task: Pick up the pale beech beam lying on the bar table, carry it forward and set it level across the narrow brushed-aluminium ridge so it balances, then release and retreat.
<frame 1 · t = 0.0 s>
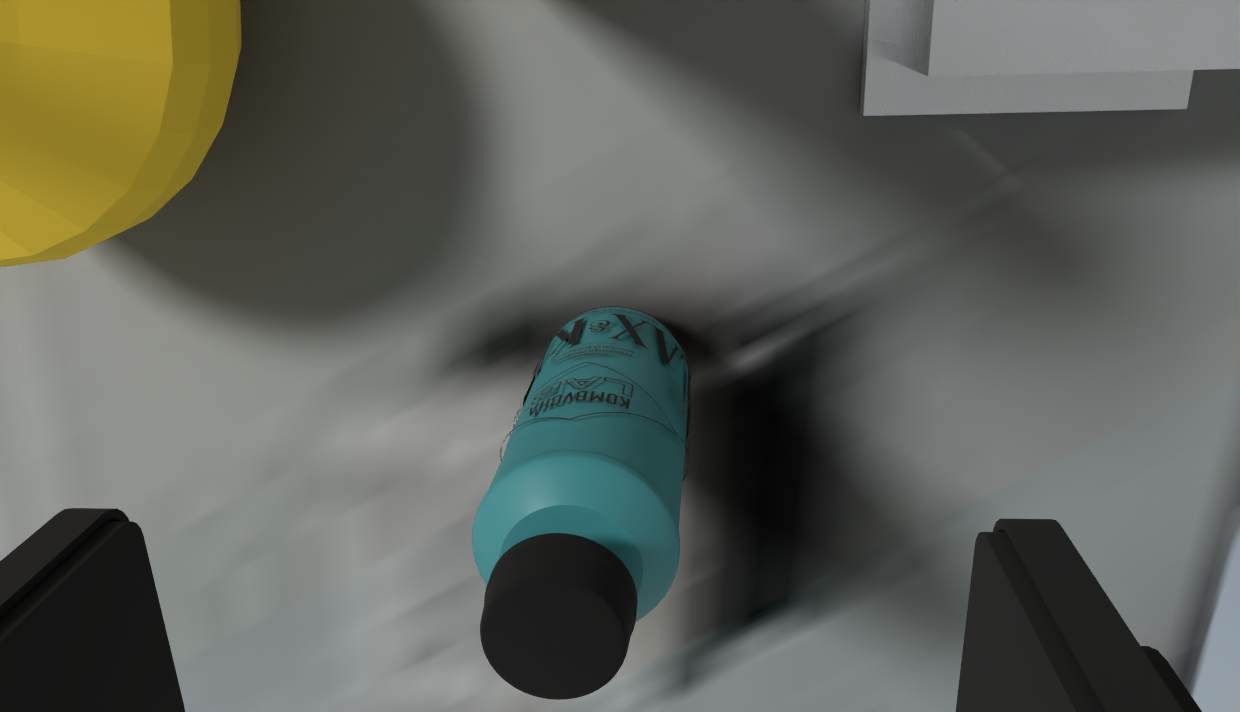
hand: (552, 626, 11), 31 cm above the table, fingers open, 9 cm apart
fulcrum: (1025, 14, 37), on the table
beverage bottle: (617, 357, 43), on the table
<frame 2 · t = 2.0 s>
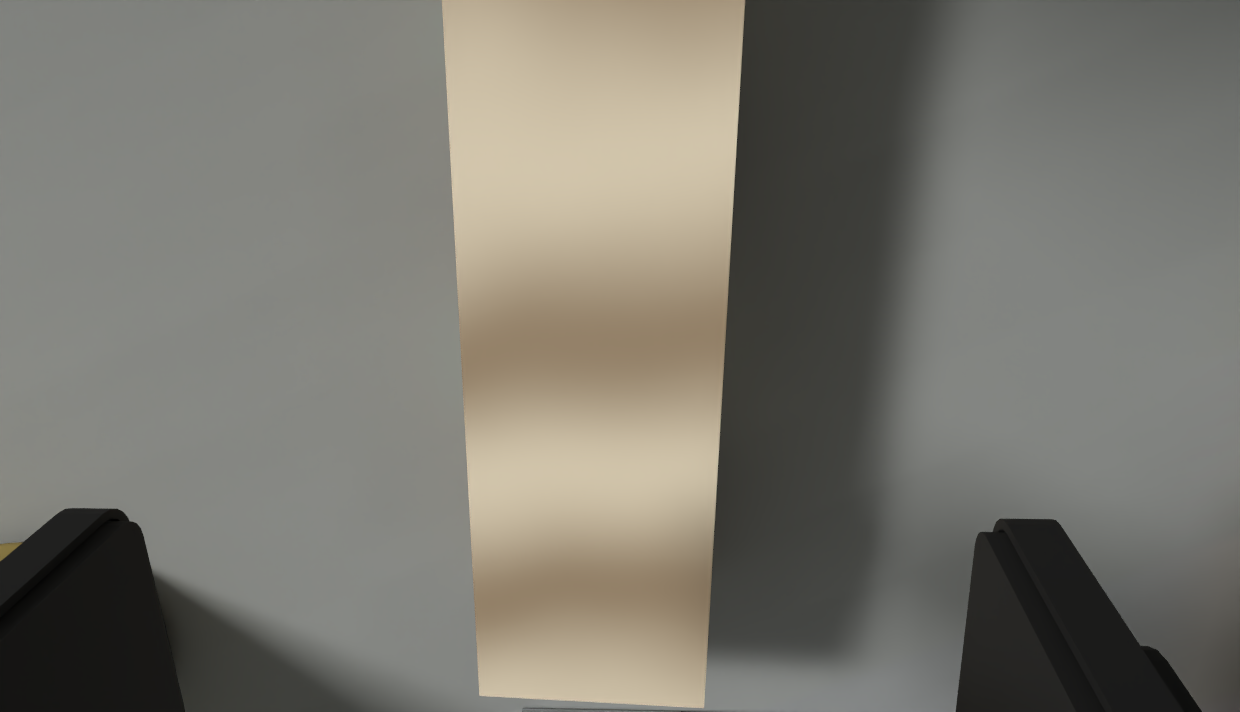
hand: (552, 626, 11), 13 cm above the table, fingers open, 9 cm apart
beam: (610, 247, 23), on the table
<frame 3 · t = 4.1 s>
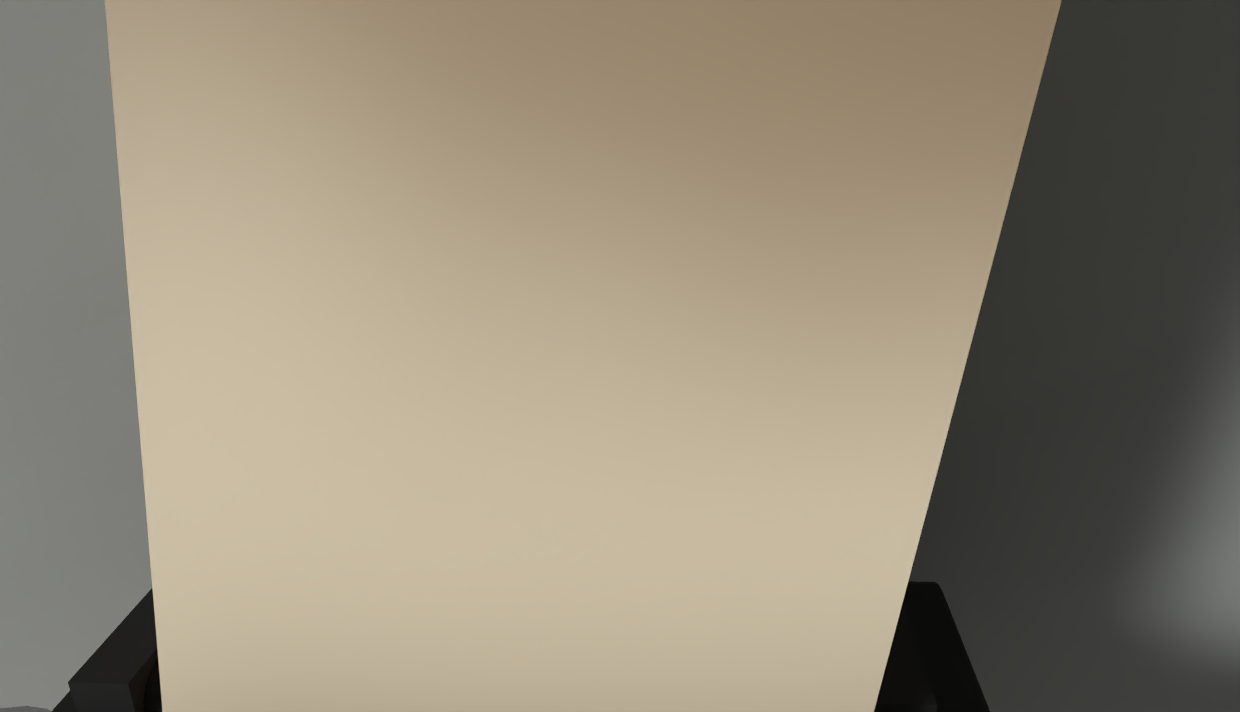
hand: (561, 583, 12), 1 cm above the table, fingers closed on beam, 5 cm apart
beam: (569, 545, 12), on the table, touching gripper
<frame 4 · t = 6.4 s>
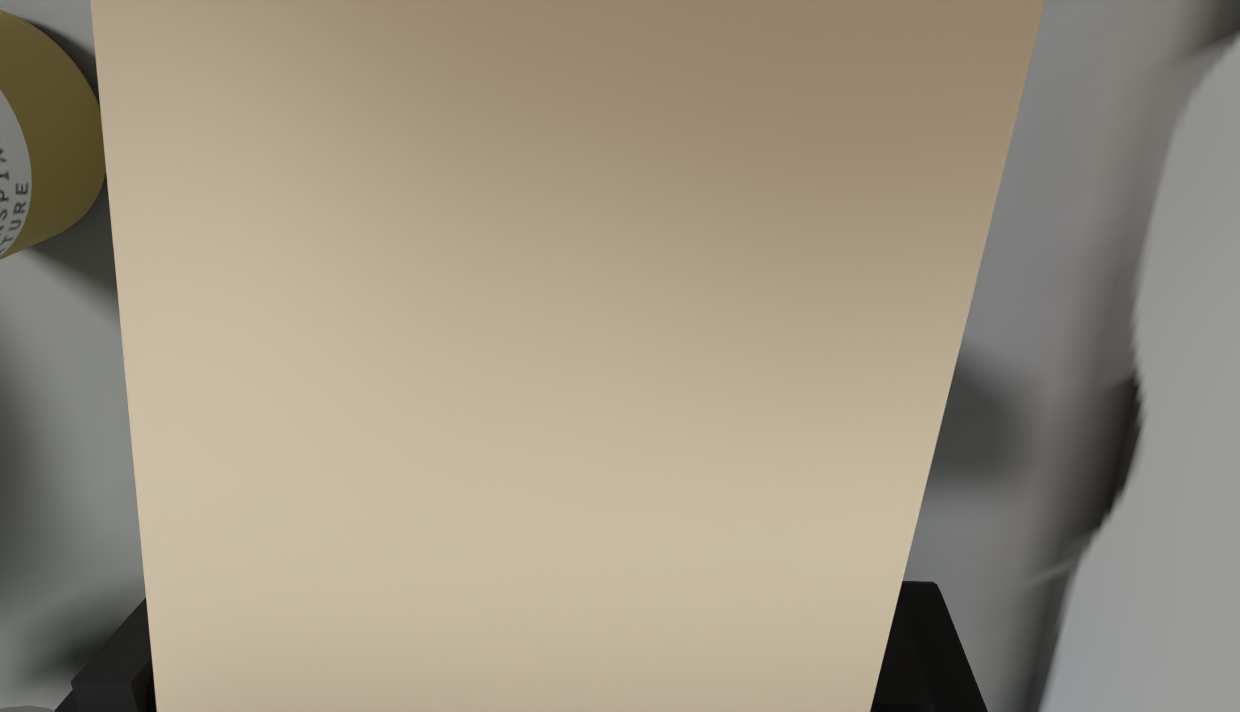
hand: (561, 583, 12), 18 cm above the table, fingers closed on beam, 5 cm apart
beam: (568, 549, 12), point 17 cm above the table, touching gripper
brown bark cylinder: (11, 123, 29), on the table
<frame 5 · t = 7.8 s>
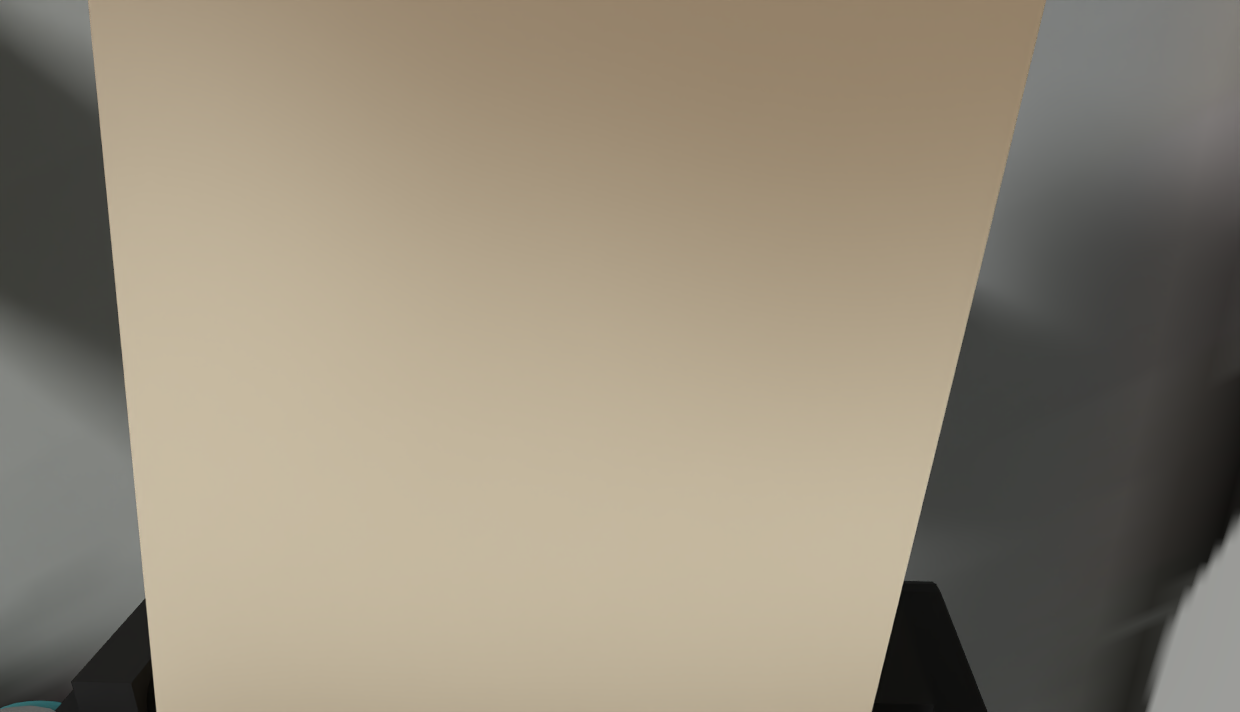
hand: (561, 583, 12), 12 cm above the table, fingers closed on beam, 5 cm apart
beam: (568, 552, 12), point 11 cm above the table, touching gripper
when the fingers open (9 cm above the table, at t = 9.1 s): beam drops 1 cm, resting on fulcrum.
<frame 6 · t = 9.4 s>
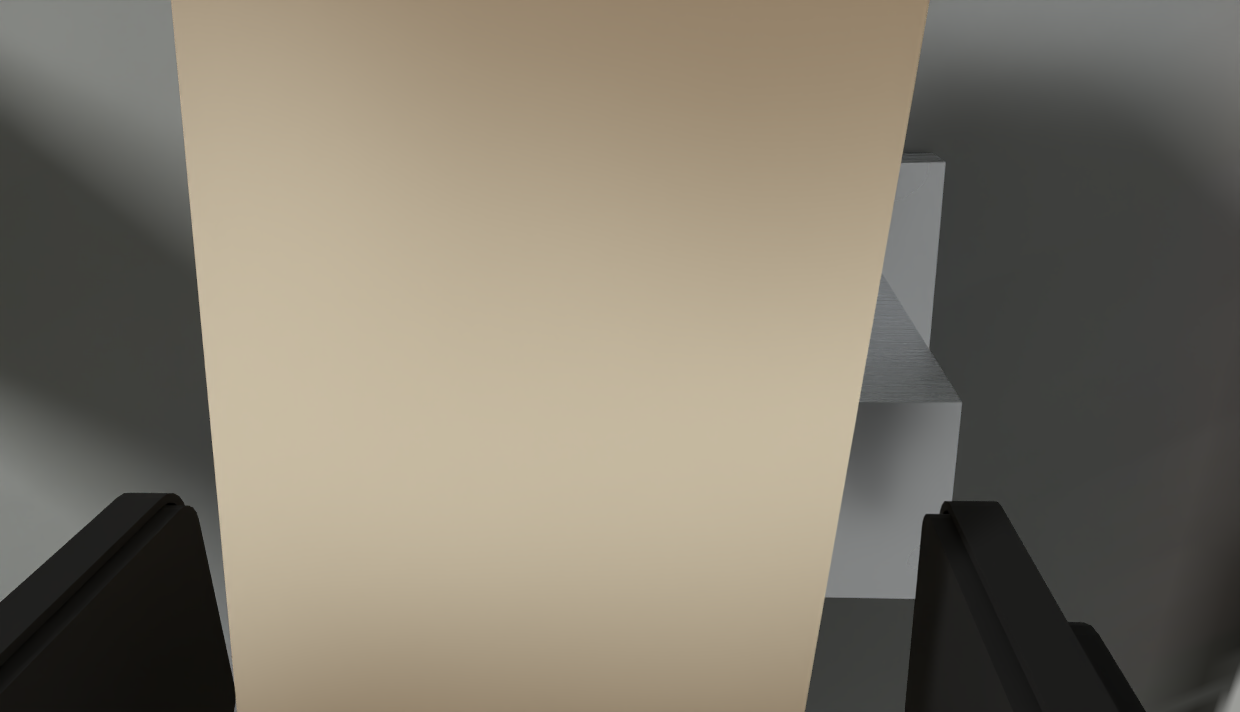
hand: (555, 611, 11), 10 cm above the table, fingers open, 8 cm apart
fulcrum: (619, 330, 20), on the table
beam: (576, 488, 13), point 7 cm above the table, touching fulcrum
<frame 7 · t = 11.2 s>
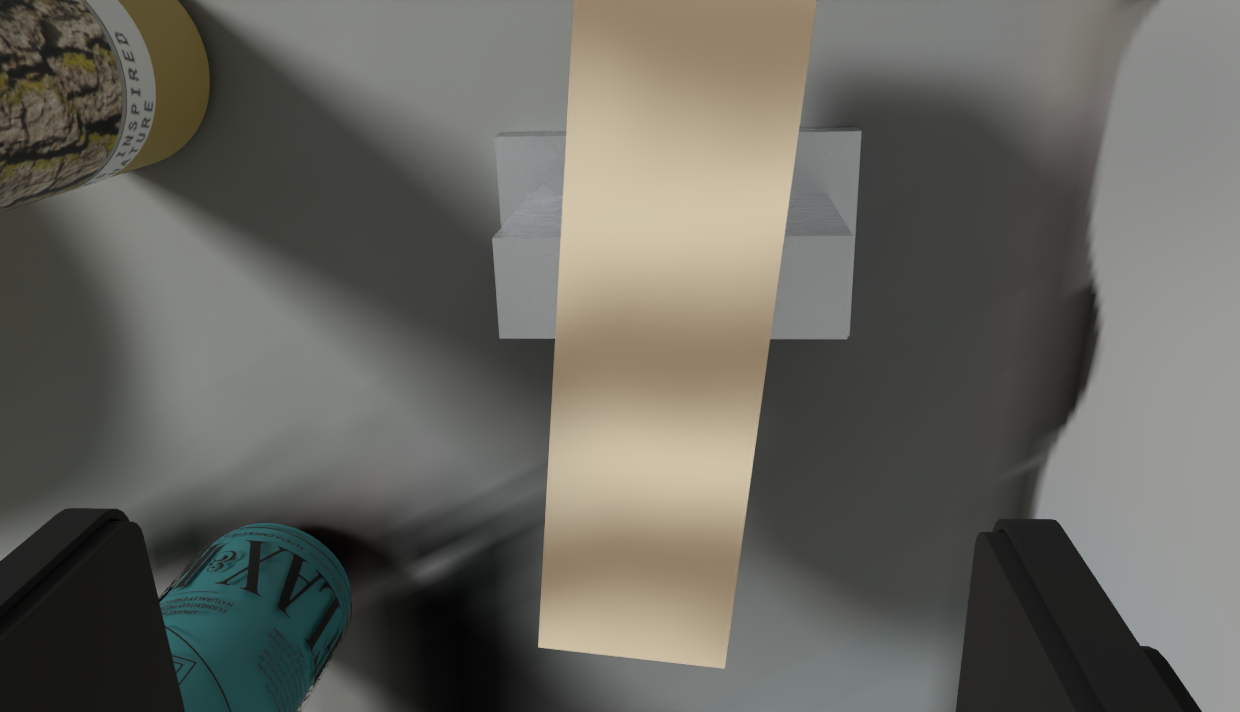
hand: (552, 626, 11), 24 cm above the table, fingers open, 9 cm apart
fulcrum: (676, 231, 34), on the table
beam: (668, 282, 27), point 7 cm above the table, touching fulcrum
beverage bottle: (293, 564, 40), on the table
brown bark cylinder: (126, 64, 34), on the table
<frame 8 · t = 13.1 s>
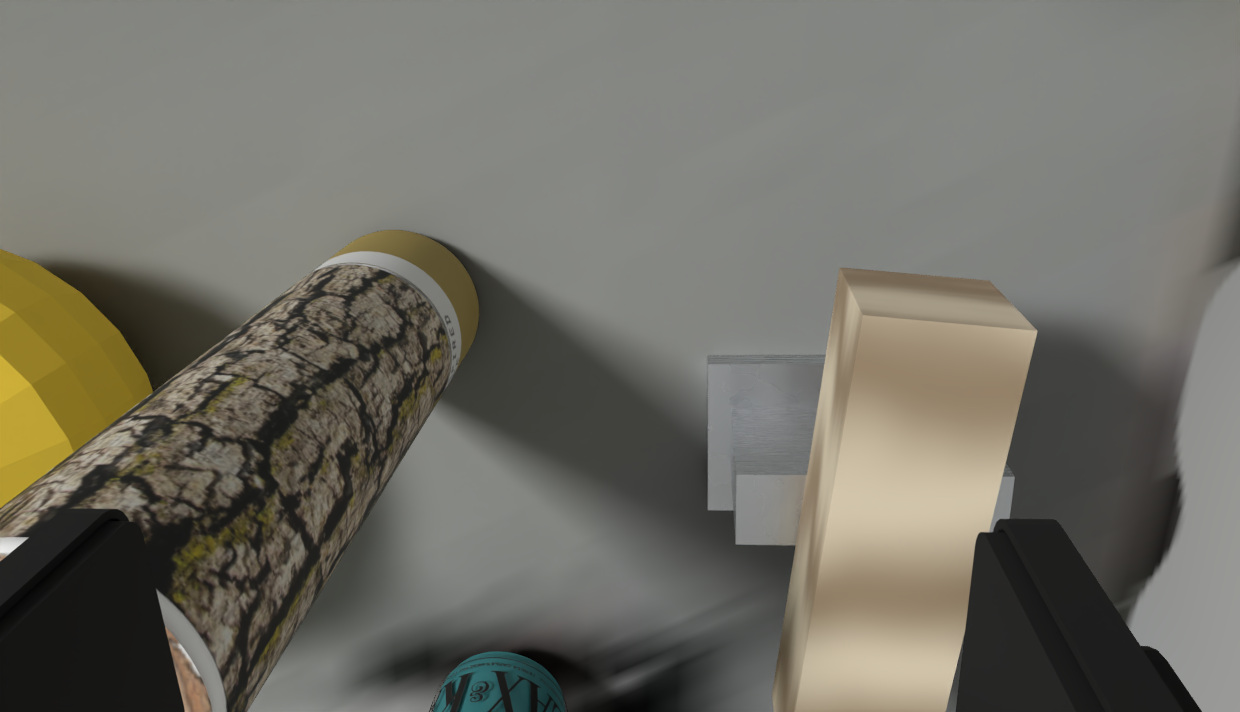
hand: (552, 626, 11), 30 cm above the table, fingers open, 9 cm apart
fulcrum: (845, 430, 43), on the table
beam: (870, 506, 36), point 7 cm above the table, touching fulcrum
beverage bottle: (508, 677, 49), on the table
vase: (36, 385, 45), on the table
brown bark cylinder: (406, 300, 42), on the table
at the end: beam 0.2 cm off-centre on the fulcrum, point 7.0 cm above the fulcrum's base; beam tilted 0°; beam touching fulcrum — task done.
